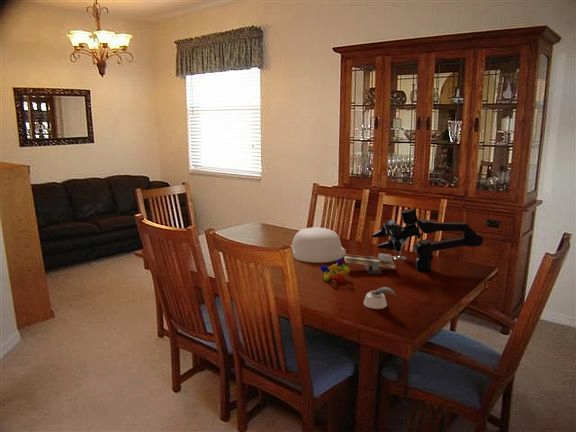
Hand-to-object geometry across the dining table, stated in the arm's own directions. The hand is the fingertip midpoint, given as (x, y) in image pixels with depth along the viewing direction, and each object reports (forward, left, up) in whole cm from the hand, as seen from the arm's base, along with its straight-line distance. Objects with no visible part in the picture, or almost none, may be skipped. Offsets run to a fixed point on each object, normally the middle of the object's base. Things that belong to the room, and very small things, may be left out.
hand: (374, 241), depth 221 cm
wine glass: (-18, -19, -15) cm, 30 cm away
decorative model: (+20, +15, -15) cm, 29 cm away
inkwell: (+5, +47, -15) cm, 49 cm away
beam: (+3, +1, -12) cm, 12 cm away
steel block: (-5, +1, -10) cm, 11 cm away
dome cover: (+26, -26, -15) cm, 40 cm away
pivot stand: (0, +1, -14) cm, 14 cm away
